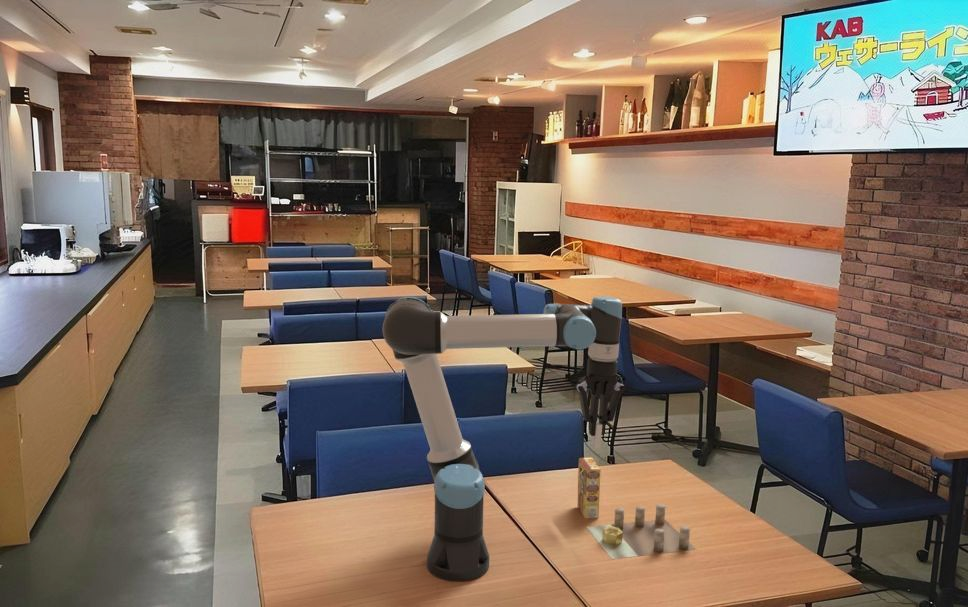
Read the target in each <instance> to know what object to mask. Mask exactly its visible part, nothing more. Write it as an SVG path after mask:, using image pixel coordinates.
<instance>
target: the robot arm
mask: <svg viewBox="0 0 968 607" xmlns="http://www.w3.org/2000/svg"><path fill="white" fill-rule="evenodd" d="M591 301H592V302H591V304H572V303H571V304H570V303H559V302H557V303H548V304H546V305H545V306H544V308H543V313H537V314H536V313H535V314H534V313H531V314H527V313H525V314H522V313H521V314H486V315H483V314H482V315H481V314H480V315H479V314H477V315H445V313H444V312H442V311H432V309H431V308H430V306H429V305H428V304H427V303H426V302H425V301H423V300H422V299H419V298H418V297H414V296H405V297H401V298H398V299H397V300H395V301H394V302H393V303H391V304H390V305H389V306H388V308H387V310H386V312H385V317H384V321H383V324H382V329H381V330H382V335H383V339H384V341H385V342H386V344H387V346H388V347H389V348H390V349H391V350H392V352H393V356H394V359H395V360H397V361H398V362H400V363H402V365H403V366H404V370H405V373H406V376H407V379H408V383H409V386H410V389H411V391H412V395H413V396H412V397H413V398H414V402H415V404H416V408H417V411H418V414H419V417H420V420H421V423H422V428H423V430H424V433H425V436H426V439H427V443H428V445H429V446H428V447H429V448H430V450H429V452H428V453H427V455H426V459H427V462H428V466H429V469H430V471H431V472H430V473H431V475H432V479H433V483H434V484H433V489H434V490H433V491H434V534H433V535H434V536H433V537H432V540H431V543H430V545H429V549H428V551H427V553H426V554H427V555H426V568H427V570H428V572H429V573H430V574H431V575H433V576H435V577H437V578H439V579H442V580H444V581H445V580H446V581H452V582H466V581H471V580H475V579H478V578H480V577H482V576H484V575H485V573H487V572H488V570H489V569H490V552H489V550H488V547H487V544H486V540H485V537H484V529H483V528H484V497H485V496H484V494H485V488H486V486H485V480H484V475H483V474H482V472H481V471H480V466H479V463H478V460H477V459H476V457H475V455H474V451H473V449H472V445H471V443H470V441H468V440H466V439H464V438H463V435H462V432H461V429H460V426H459V423H458V419H457V417H456V416H457V415H456V413H455V408H454V406H453V403H452V400H451V397H450V393H449V390H448V386H447V383H446V380H445V378H444V377H445V376H444V373H443V370H442V367H441V364H440V361H439V357H438V355H439V354H443V353H445V351H446V350H453V349H456V350H457V349H488V348H489V349H490V348H491V349H492V348H494V349H495V348H529V347H533V348H534V347H568V348H571V349H575V350H584V349H585V350H586V349H587V348H588V351H587V355H588V358H587V364H586V365H587V366H586V376H585V378H584V381H582V382H581V383H576V384H575V388H576V390H577V391H578V395H579V396H578V397H579V400H580V401H579V402H580V403H579V404H580V408H581V415H582V419H583V420H584V421H585V422H587V423H589V426H588V428H589V429H588V433H589V435H590V436H591V440H590V441H591V443H590V446H591V447H592V448H593V449H594V450H601V447H602V446H601V444H602V436H605V434H606V426H607V425H608V422H609V423H610V422H613V421H614V418H615V415H616V412H617V409H618V406H619V402H620V400H621V396H622V395H623V393H624V392H625V390H626V386H625V385H624V384H623V383H621V382H618V377H617V374H618V364H619V362H618V360H617V359H618V358H619V351H620V336H621V328H622V327H621V325H622V320H623V317H622V316H623V303H622V301H621V300H620V299H619V298H617V297H614V296H613V297H612V296H594V297H593V298H592V300H591ZM587 388H588V389H589V391H590V407H589V400H588V394H587V391H588V390H587ZM612 390H613V391H612ZM611 392H612V393H611ZM610 393H611V394H610ZM610 396H611V398H610Z"/></svg>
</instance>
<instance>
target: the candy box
mask: <svg viewBox="0 0 968 607" xmlns="http://www.w3.org/2000/svg"><path fill="white" fill-rule="evenodd" d="M577 470H578V473H577V474H578V477H577V505H576V506H577V509H579V511H580V513H581V515H582V516H583V517H584V519H599V517H600V516H599V515H600V494H601V493H600V492H601V487H600V486H601V471H602V470H601V468H600V466H599V465H598V464H597V463H596V461H595V459H594V458H593V457H579V458H578V469H577Z"/></svg>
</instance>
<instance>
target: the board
mask: <svg viewBox="0 0 968 607" xmlns="http://www.w3.org/2000/svg"><path fill="white" fill-rule="evenodd" d="M645 513H646V508H645V507H644V506H643V505H636V506H635V517H634V521H633V522H631V521H630V522H625V509H624V508H621V507H616V508H615V509H614V524H613V523H612V524H605V525H603V524H602V525H594V526H586V529H587V531H588V532H590V534H591V535H592V536H593V537H594V539H595V540H596V541H597V543H598V544H599V545H600V546H601V547H602V548H603V550H604V551H605V552H606V554H607V555H608V556H609V558H610V559H611V560H617V559H624V558H635V557H643V556H644V557H645V556H652V555H653V556H654V555H660V554H670V553H679V552H688V551H696V550H698V549H697V548H696V547H695V546H694V545H692V544H691V543H690V533H691V532H690V531H691V528H690V527H688V526H685V525H681V526H680V527H679V531H678V530H677V529H676V528H675V527H673V525H672V524H670V523H669V522H668V520H666V505H664V504H662V503H658V504H656V507H655V519H653V520H645ZM608 526H610V527H616V528H619V529H620V530H621V531H622V532H623V535H622V543H620V544H619V545H617V546H614V545H607V544H605V542H604V541H603V540H602V533H603V529H604V528H606V527H608Z"/></svg>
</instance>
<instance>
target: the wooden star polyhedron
mask: <svg viewBox="0 0 968 607" xmlns="http://www.w3.org/2000/svg"><path fill="white" fill-rule="evenodd" d="M622 535H623V532H622V531H621V530H620V529H619V528H616V527H610V526H608V527H606V528H604V529H603V533H602V540H603V541H604V542H605V544H607V545H614V546H617V545H619V544H620V543H622Z"/></svg>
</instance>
